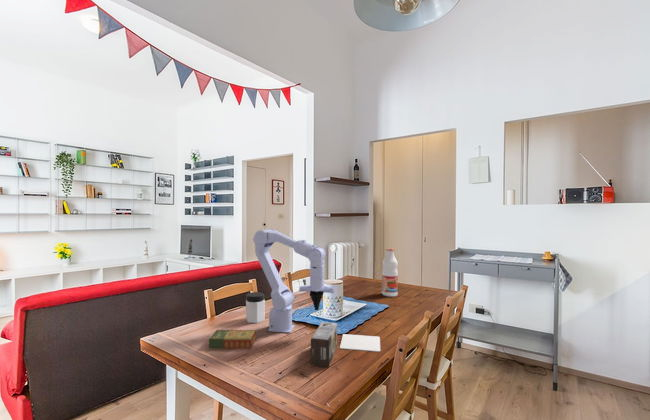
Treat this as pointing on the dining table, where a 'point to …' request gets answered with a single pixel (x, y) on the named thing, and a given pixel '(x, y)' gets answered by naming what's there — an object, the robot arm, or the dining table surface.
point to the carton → (232, 339)
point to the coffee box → (324, 344)
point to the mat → (360, 342)
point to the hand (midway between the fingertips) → (316, 309)
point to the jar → (255, 307)
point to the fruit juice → (390, 274)
